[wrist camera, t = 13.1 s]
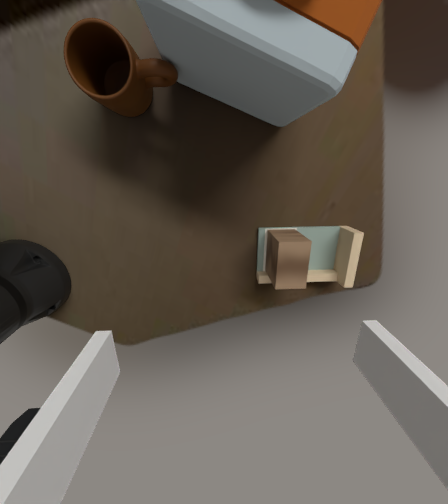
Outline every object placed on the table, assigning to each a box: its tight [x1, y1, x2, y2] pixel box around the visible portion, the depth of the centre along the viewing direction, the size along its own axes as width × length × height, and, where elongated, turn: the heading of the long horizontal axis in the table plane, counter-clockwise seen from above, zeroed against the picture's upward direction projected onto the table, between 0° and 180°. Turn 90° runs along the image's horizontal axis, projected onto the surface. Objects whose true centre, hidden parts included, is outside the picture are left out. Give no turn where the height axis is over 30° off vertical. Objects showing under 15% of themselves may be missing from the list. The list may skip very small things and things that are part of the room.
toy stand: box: [256, 226, 364, 287], centre depth 41 cm, size 17×10×5 cm, turn 91°
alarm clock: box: [136, 0, 382, 127], centre depth 24 cm, size 18×9×21 cm, turn 70°
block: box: [265, 229, 312, 289], centre depth 39 cm, size 8×5×8 cm, turn 0°
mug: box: [64, 18, 178, 117], centre depth 29 cm, size 12×8×9 cm, turn 88°
